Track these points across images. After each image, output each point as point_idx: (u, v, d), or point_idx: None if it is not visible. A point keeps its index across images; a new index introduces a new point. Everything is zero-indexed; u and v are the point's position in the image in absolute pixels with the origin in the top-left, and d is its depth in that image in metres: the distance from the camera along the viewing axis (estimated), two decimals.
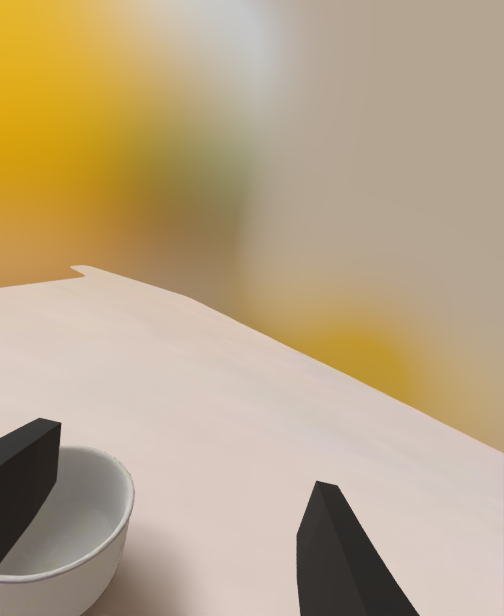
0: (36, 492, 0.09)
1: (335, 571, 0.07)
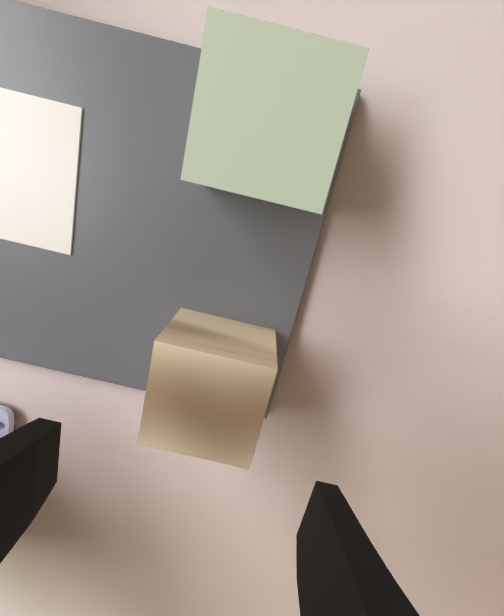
0: (36, 492, 0.09)
1: (335, 571, 0.07)
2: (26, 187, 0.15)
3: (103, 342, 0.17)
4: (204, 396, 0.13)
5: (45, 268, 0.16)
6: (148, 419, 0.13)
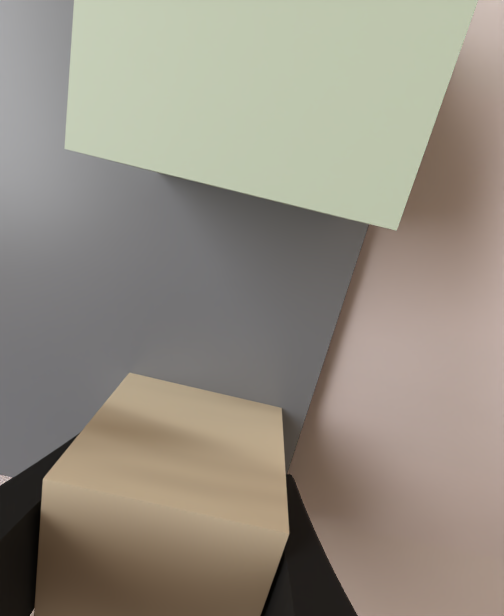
0: None
1: None
2: None
3: (10, 422, 0.11)
4: (148, 573, 0.07)
5: None
6: (47, 606, 0.07)
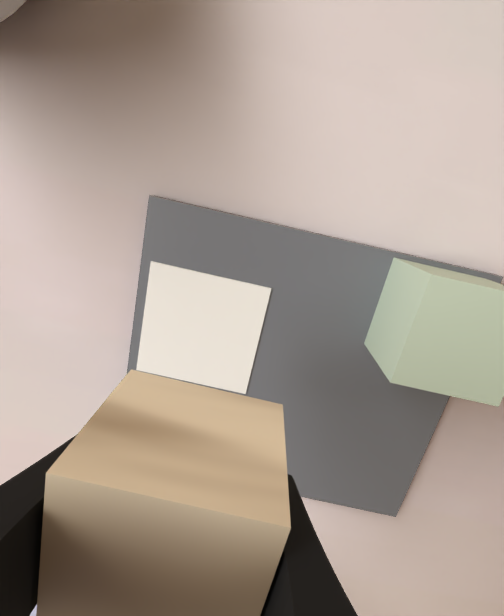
0: None
1: None
2: (216, 344, 0.18)
3: None
4: (150, 567, 0.07)
5: None
6: (50, 600, 0.07)
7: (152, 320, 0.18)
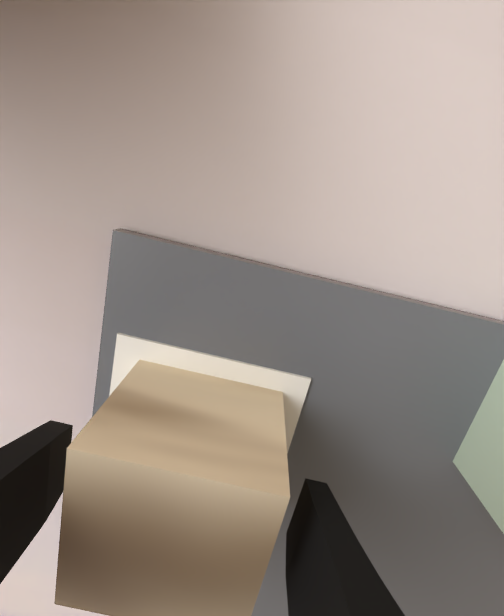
0: (48, 495, 0.09)
1: (321, 568, 0.07)
2: None
3: (286, 608, 0.14)
4: (162, 536, 0.07)
5: None
6: (69, 569, 0.08)
7: None
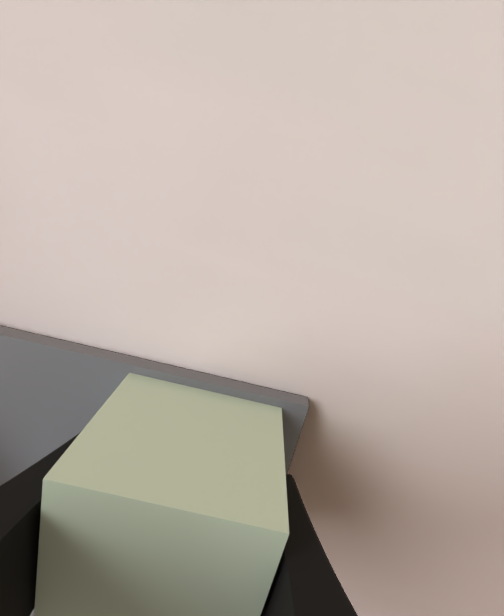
0: None
1: None
2: None
3: None
4: None
5: None
6: None
7: None
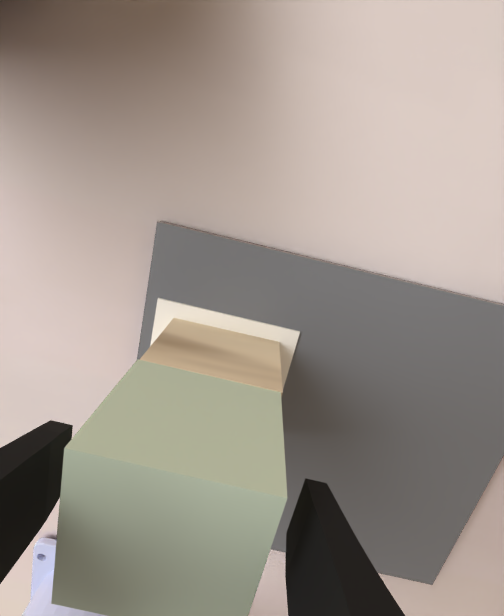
0: (48, 495, 0.09)
1: (321, 568, 0.07)
2: None
3: (282, 519, 0.17)
4: None
5: None
6: None
7: None
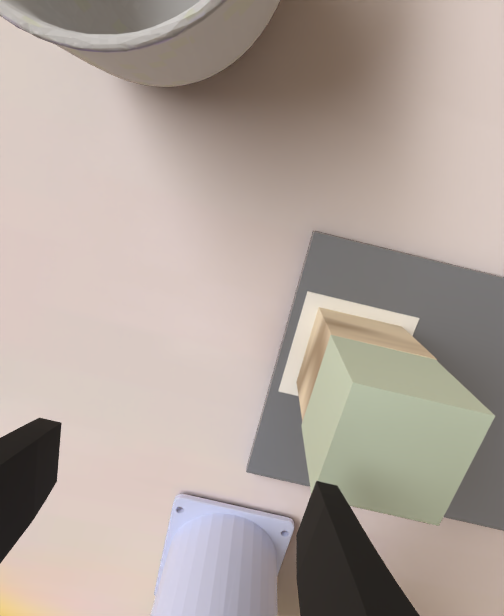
0: (36, 492, 0.09)
1: (335, 571, 0.07)
2: None
3: None
4: None
5: None
6: None
7: (300, 346, 0.19)
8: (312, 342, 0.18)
